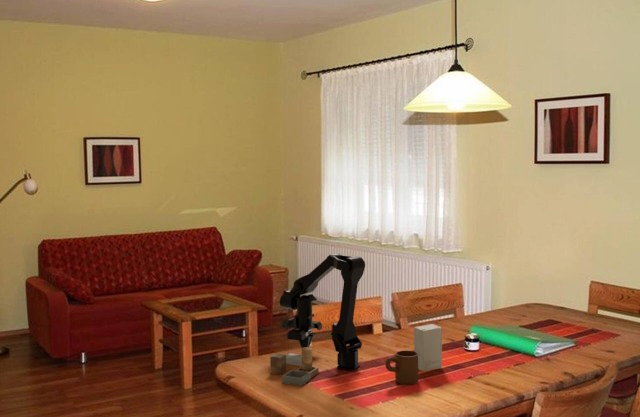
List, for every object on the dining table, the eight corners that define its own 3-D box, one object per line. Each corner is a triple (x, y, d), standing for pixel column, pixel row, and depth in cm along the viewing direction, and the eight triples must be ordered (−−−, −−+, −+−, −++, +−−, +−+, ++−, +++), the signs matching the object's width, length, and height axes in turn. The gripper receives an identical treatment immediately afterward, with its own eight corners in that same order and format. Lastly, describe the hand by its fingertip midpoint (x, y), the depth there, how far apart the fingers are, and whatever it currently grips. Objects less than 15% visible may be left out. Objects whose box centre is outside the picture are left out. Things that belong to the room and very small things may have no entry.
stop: (286, 371, 239) (286, 354, 238) (280, 374, 235) (280, 357, 235) (276, 370, 240) (275, 353, 240) (270, 373, 237) (270, 356, 236)
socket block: (318, 373, 237) (318, 367, 237) (311, 378, 231) (311, 372, 231) (302, 370, 239) (302, 365, 239) (295, 375, 234) (295, 370, 234)
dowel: (314, 373, 236) (313, 347, 236) (309, 376, 233) (309, 350, 232) (304, 372, 238) (304, 346, 237) (299, 375, 234) (299, 349, 234)
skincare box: (432, 364, 246) (433, 323, 245) (442, 368, 240) (443, 327, 239) (413, 367, 242) (413, 326, 241) (422, 372, 237) (423, 329, 236)
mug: (391, 388, 221) (391, 360, 220) (379, 381, 227) (379, 353, 227) (422, 382, 226) (423, 354, 225) (409, 376, 233) (409, 349, 232)
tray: (310, 379, 230) (310, 372, 230) (301, 386, 224) (301, 378, 223) (291, 377, 233) (291, 369, 233) (282, 383, 226) (282, 376, 226)
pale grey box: (309, 362, 250) (308, 356, 250) (300, 367, 245) (300, 360, 245) (290, 359, 254) (289, 353, 254) (281, 364, 249) (281, 357, 249)
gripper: (296, 304, 267) (296, 344, 268) (273, 315, 250) (273, 357, 251) (322, 307, 263) (322, 347, 264) (300, 318, 246) (301, 360, 247)
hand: (304, 352), depth 257 cm, fingers closed
